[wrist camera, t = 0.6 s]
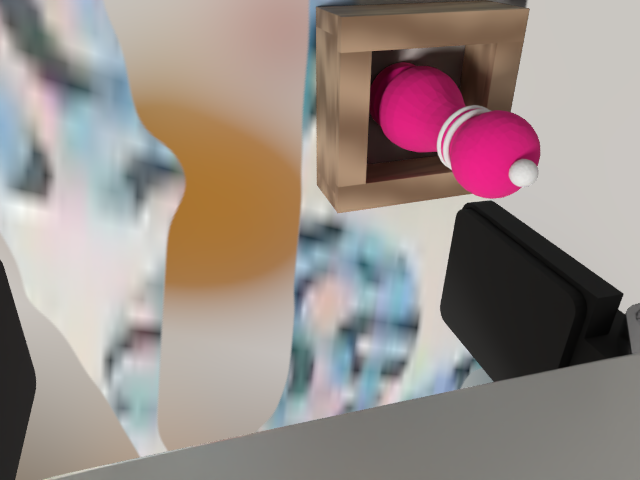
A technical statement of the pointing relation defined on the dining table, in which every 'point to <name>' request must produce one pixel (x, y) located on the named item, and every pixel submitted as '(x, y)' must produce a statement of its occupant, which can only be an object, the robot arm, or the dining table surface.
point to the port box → (354, 89)
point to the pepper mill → (455, 130)
